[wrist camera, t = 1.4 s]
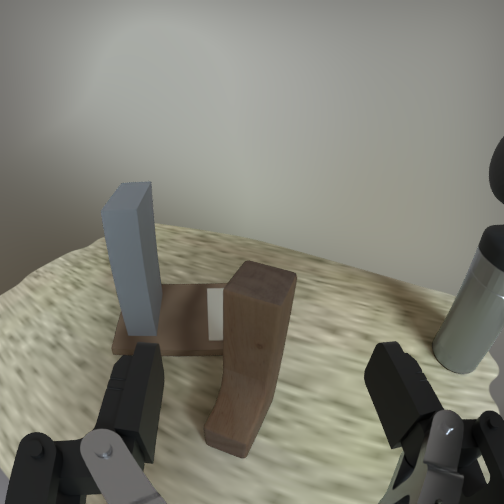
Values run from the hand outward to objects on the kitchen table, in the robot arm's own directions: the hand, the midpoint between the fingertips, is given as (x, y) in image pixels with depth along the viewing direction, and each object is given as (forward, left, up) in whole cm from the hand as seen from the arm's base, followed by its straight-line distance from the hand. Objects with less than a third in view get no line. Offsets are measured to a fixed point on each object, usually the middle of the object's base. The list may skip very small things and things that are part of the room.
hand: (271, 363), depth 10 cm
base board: (+4, -26, -22) cm, 35 cm away
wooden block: (-1, -9, -23) cm, 25 cm away
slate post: (+11, -26, -21) cm, 36 cm away
